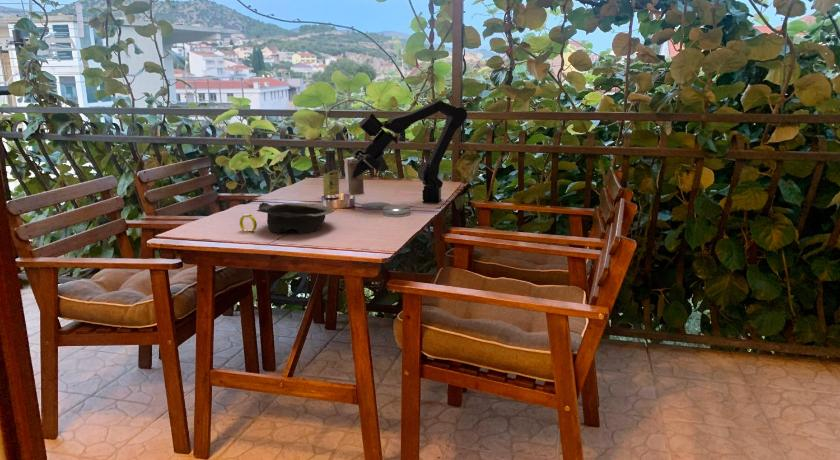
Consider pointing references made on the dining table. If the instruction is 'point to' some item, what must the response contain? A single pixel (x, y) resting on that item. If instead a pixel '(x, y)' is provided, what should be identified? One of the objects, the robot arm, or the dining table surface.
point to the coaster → (375, 206)
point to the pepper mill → (357, 182)
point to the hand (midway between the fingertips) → (351, 176)
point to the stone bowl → (294, 216)
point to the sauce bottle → (330, 174)
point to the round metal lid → (396, 210)
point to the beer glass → (347, 171)
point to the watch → (250, 218)
